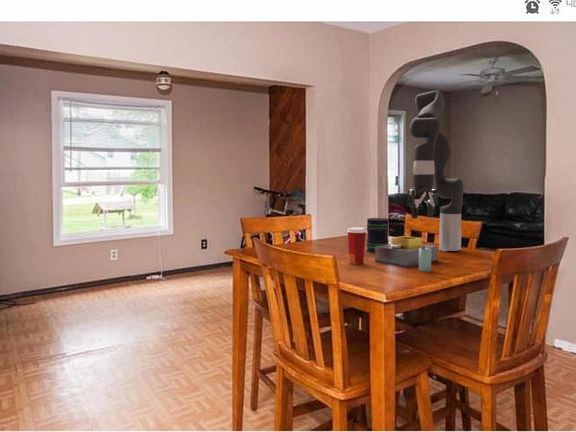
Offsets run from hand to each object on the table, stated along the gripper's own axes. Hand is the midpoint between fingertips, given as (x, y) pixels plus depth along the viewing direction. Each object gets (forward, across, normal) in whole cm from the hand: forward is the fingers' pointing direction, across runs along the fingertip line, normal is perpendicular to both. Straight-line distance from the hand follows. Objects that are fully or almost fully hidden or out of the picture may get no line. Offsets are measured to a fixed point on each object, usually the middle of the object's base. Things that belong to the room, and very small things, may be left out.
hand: (422, 217), depth 172 cm
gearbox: (+19, -10, -15) cm, 26 cm away
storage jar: (+19, -17, -39) cm, 47 cm away
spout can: (+20, -1, +1) cm, 20 cm away
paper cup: (+20, +10, -24) cm, 33 cm away
